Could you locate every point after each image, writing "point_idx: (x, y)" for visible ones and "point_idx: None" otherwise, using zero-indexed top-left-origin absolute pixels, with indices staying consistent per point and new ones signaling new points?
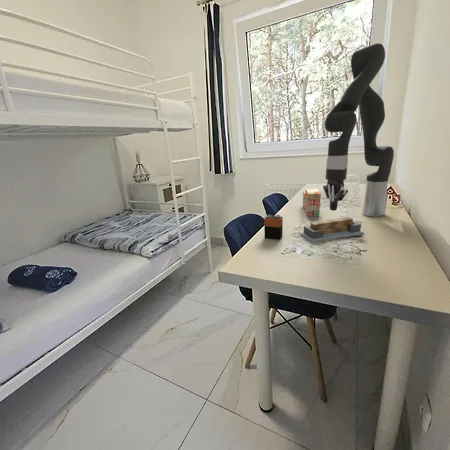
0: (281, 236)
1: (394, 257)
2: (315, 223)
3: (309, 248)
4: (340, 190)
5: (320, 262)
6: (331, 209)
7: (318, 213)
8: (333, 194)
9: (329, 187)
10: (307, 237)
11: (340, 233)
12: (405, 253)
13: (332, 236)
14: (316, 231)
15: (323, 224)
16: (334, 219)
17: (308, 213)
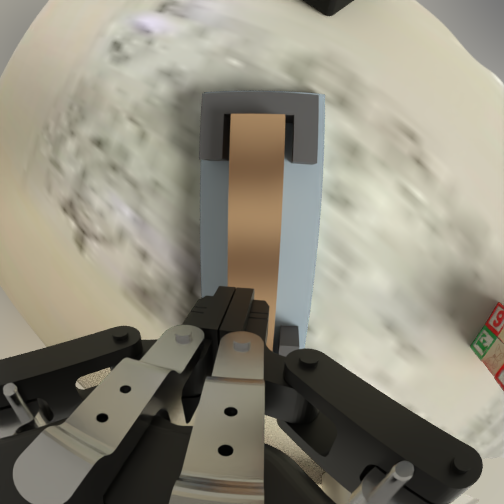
0: (312, 3)
1: (43, 280)
2: (250, 131)
3: (156, 61)
4: (18, 422)
5: (69, 65)
6: (226, 287)
7: (477, 349)
8: (111, 374)
9: (182, 499)
10: (247, 91)
11: (220, 273)
12: (59, 323)
13: (200, 211)
14: (202, 113)
15: (229, 182)
16: (267, 299)
17: (502, 311)
